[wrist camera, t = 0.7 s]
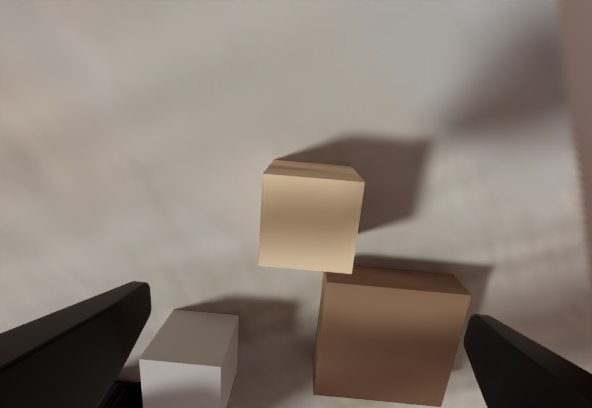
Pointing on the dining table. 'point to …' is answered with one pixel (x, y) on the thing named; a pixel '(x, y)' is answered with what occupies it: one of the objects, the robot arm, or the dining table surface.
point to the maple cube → (310, 216)
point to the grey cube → (191, 361)
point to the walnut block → (388, 334)
